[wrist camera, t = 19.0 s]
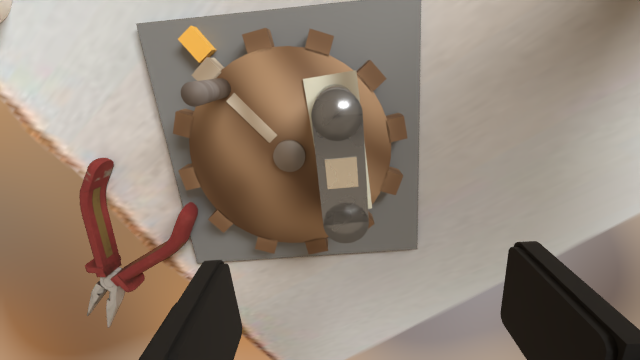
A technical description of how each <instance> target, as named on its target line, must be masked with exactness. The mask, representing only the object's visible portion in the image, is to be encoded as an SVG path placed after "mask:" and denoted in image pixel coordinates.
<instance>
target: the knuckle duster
mask: <svg viewBox="0 0 640 360" xmlns="http://www.w3.org/2000/svg"><path fill="white" fill-rule="evenodd" d="M11 6H12V0H0V23H1V22H2V21H3V20H4V19H5V18H6V17H7V16H8V14H9V12H10V10H11Z"/></svg>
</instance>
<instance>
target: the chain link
mask: <svg viewBox="0 0 640 360" xmlns="http://www.w3.org/2000/svg"><path fill="white" fill-rule="evenodd" d="M311 118H312V127H313V136H314V145H315V155H316V164H317V173H318V182H319V191H320V200H321V209H322V218H323V226H324V230H325V232H326V234H327V235H328V236H329V237H330V238H331V239H332V240H334V241H336V242H339V243H353V242H355V241H358V240H359V239H361V238H362V237H363V236H364V235H365V233H366V232H367V230H368V226H369V216H368V198H367V180H366V162H365V145H364V127H363V111H362V107H361V104H360V102H359V101H358V99H357V98H356V97H355V96H354V95H353V93H352V92H351V91H350V90H349V89H348V88H346V87H345V86H343V85H339V84H331V85H328V86H326V87H324V88H323V89H322V90H321V91H320V92H319V93H318V95H317V97H316V99H315V102H314V105H313V108H312V114H311Z"/></svg>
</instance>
